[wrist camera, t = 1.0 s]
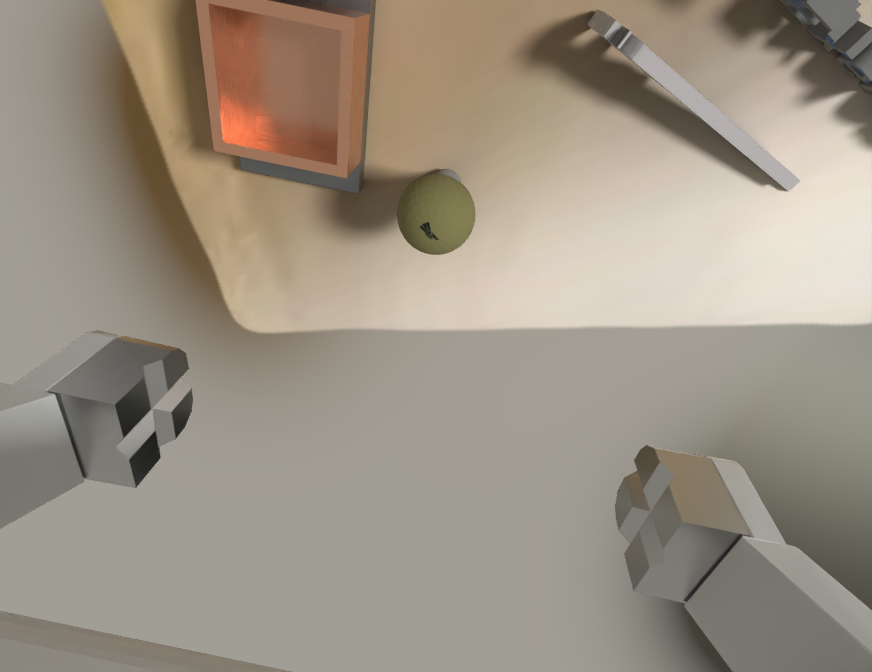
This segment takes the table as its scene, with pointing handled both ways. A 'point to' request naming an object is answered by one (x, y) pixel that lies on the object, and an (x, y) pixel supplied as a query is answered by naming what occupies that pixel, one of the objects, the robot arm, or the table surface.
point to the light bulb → (436, 213)
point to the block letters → (838, 33)
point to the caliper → (689, 96)
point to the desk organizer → (290, 85)
